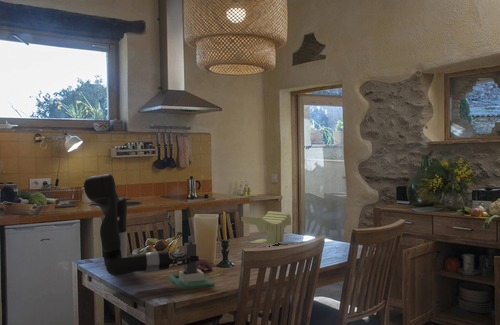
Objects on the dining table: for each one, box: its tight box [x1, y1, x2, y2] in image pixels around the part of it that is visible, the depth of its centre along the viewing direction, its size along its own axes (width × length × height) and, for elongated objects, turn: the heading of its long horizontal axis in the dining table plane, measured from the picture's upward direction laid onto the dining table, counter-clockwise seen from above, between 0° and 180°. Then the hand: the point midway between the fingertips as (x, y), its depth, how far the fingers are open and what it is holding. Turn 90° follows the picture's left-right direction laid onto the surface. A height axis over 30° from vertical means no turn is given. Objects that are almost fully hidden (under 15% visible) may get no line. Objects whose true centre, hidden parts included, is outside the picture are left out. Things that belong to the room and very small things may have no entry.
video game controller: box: [196, 257, 213, 272], centre depth 218 cm, size 10×5×7 cm, turn 142°
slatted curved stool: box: [241, 210, 292, 244], centre depth 281 cm, size 30×16×18 cm, turn 147°
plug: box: [183, 235, 197, 274], centre depth 200 cm, size 4×5×17 cm
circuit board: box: [167, 269, 215, 291], centre depth 200 cm, size 20×14×4 cm
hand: (196, 257), depth 201 cm, fingers closed on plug, 4 cm apart
